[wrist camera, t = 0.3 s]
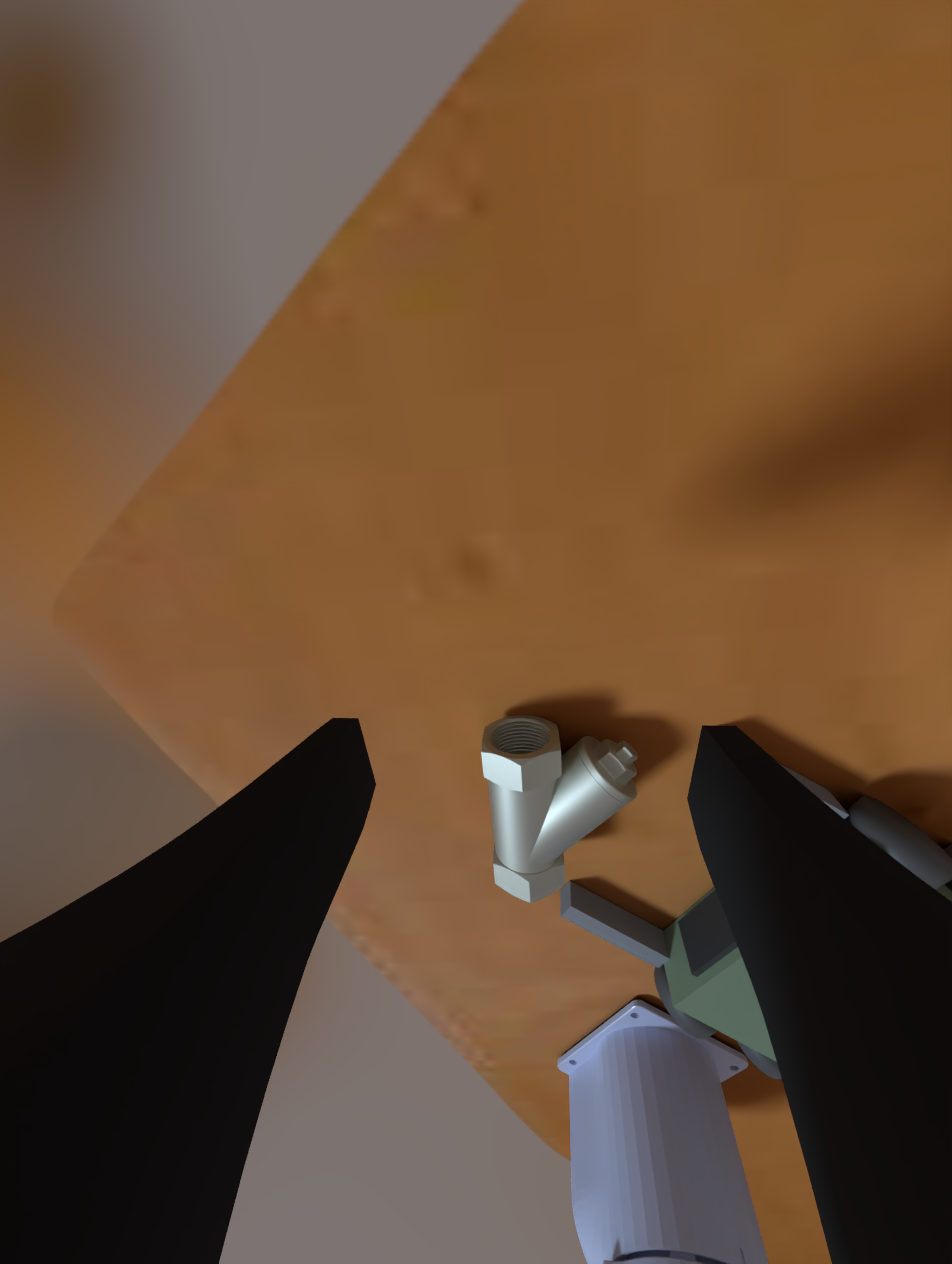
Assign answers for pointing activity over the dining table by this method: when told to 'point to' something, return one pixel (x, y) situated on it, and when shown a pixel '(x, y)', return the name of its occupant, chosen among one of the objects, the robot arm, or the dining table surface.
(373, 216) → the dining table surface
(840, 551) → the dining table surface
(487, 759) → the pipe fitting
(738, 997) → the grey-green knobbed block
